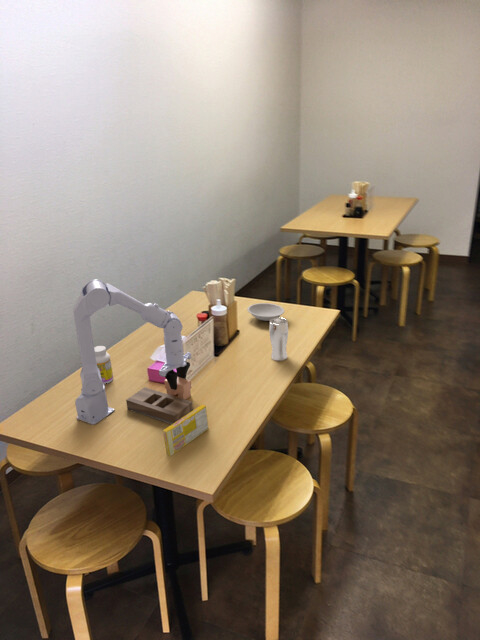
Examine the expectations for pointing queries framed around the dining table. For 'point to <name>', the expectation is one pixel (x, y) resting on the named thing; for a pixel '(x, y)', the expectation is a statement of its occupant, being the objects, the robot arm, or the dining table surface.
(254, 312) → the dish
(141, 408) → the slot base
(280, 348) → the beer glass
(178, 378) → the peach arch block
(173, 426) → the candy box
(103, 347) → the supplement bottle
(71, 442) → the dining table surface
